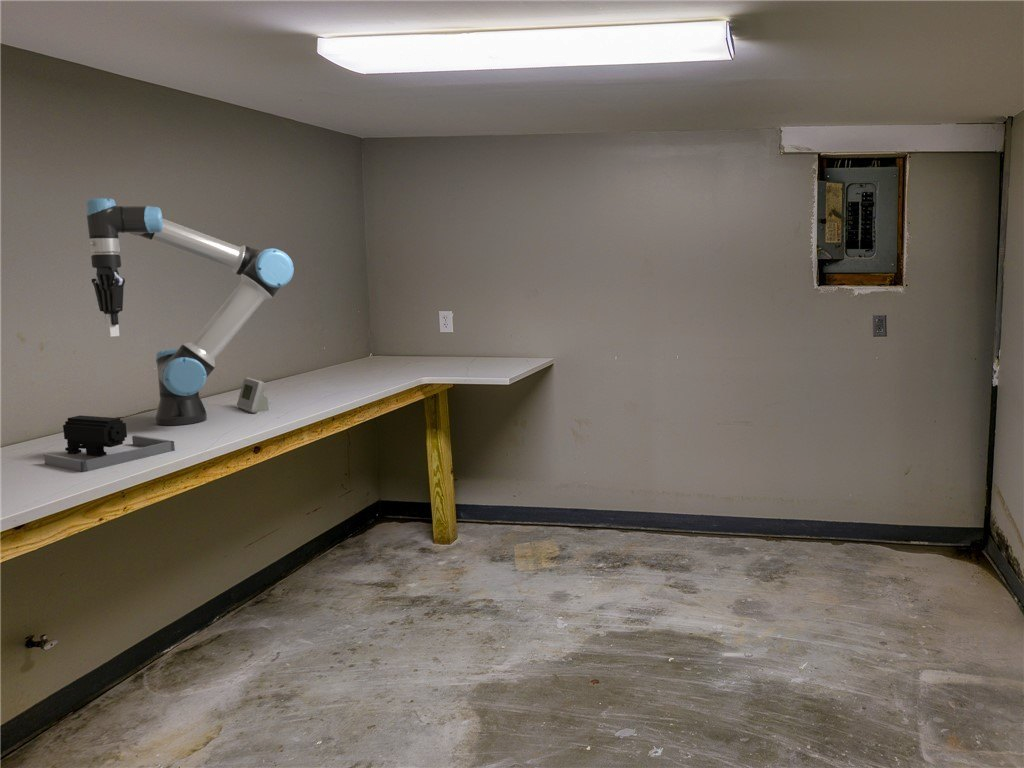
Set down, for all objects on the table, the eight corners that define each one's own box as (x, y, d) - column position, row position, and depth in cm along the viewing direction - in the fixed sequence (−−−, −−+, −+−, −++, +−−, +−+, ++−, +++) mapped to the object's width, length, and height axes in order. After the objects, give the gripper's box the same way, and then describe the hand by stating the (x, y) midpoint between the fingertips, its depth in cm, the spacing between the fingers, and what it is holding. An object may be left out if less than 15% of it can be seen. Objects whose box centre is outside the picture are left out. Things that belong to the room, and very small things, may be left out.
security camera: (80, 449, 220) (76, 413, 219) (130, 454, 213) (127, 417, 212) (58, 455, 214) (53, 418, 213) (109, 460, 207) (105, 422, 206)
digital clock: (236, 407, 281) (234, 377, 279) (263, 405, 284) (261, 375, 283) (242, 415, 266) (240, 383, 264) (270, 412, 270) (268, 381, 268)
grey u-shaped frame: (136, 443, 226) (135, 435, 225) (174, 450, 217) (174, 441, 216) (45, 463, 205) (43, 454, 204) (83, 471, 196) (82, 461, 195)
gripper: (79, 254, 230) (88, 336, 234) (106, 253, 224) (114, 338, 227) (104, 254, 237) (112, 334, 240) (131, 253, 230) (139, 335, 233)
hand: (113, 336), depth 234 cm, fingers closed
